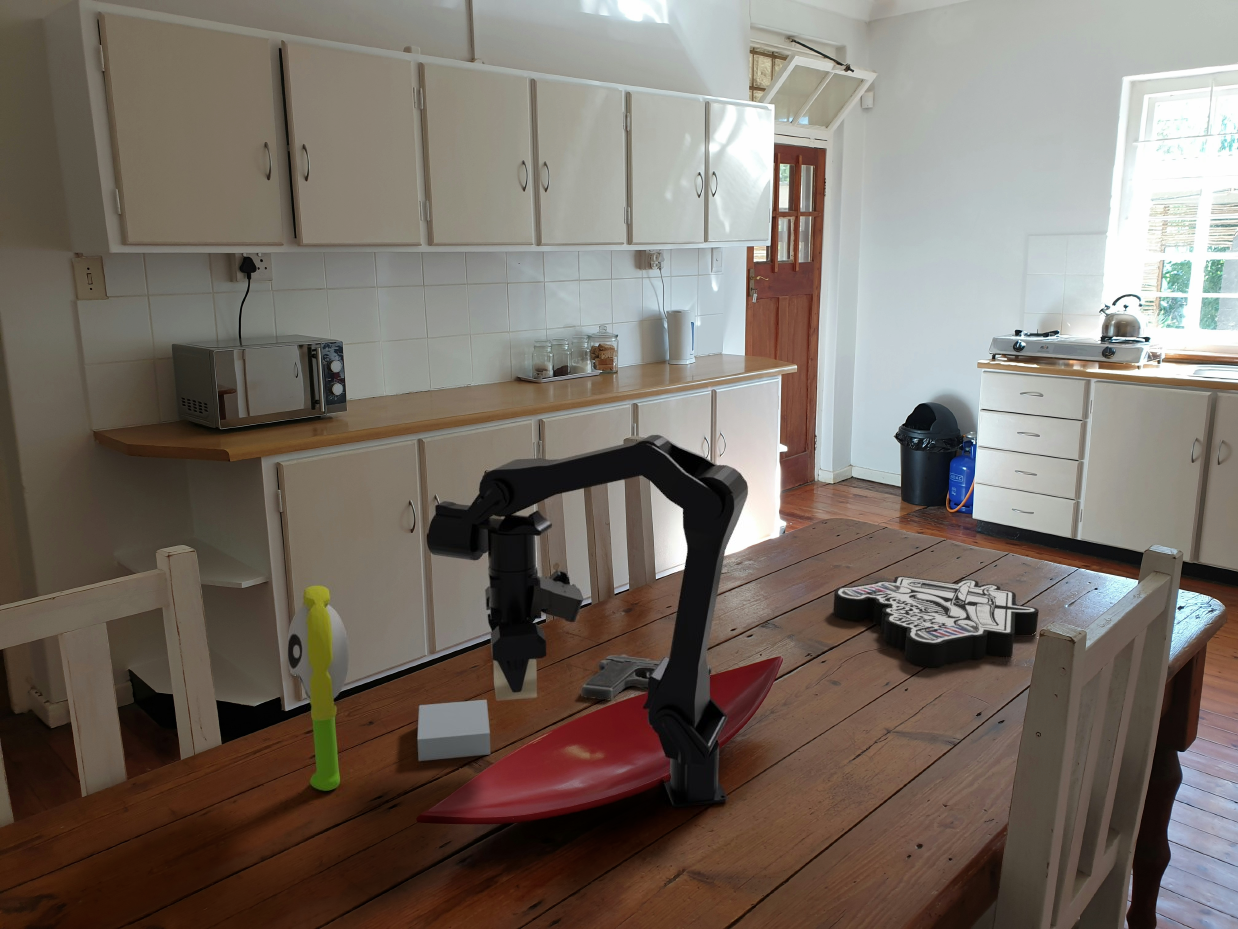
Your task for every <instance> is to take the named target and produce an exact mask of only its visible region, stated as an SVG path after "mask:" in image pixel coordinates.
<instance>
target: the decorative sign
mask: <svg viewBox="0 0 1238 929" xmlns="http://www.w3.org/2000/svg"><path fill="white" fill-rule="evenodd" d="M1016 599H1017V594H1016V593H1015V592H1014V591H1011V590H1006V589H1001V587H1000V586H999V585H996V584H992V583H987V584H982V585H979V581H978V580H975V579H960V580H958V581H957V582H955V583H954V582H949V581H948V582H947V581H942V580H941V581H940V580H934V579H926V578H918V577H917V578H916V577H911V576H904V575H903V576H902V575H901V576H896V577H894V579H893V581H889V580H888V581H887V580H880V581H875V582H871V583H865V584H859V585H853V586H852V585H851V586H840V587H837V588H836V589H834V594H833V609H832V614H833V617H835V618H836V619H838V620H841V621H845V622H852V623H861V622H862V623H863V622H866V621H872V622H873V623H874V625H876V626H878V627H880V634H881V635H882V636H883V639H882V640H883V644H884V645H886V646H887V647H890V648H893V649H896V650H899V651H901V652H904V660H905V662H907V664H910V665H911V666H914V667H919V668H923V669H929V670H936V669H942V668H943V667H945V666H948V665H953V664H954V665H955V664H958V663H959V664H960V663H964V662H969V661H980V660H983V659H985V657H986V656H990V657H994V656H995V657H996V658H1001V657H1002V658H1003V657H1004V658H1003V659H1007V658H1006V657H1010V658H1011V656H1013V650H1014V641H1015V636H1014V635H1032V634H1034V633H1035V632H1036V633H1037V629H1038V620H1039V611H1040V610H1039V609H1038V608H1037V607H1033V606H1028V605H1022V604H1021V605H1019V604H1016V602H1017V601H1016ZM1032 636H1033V635H1032Z"/></svg>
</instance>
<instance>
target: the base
mask: <svg viewBox="0 0 1238 929" xmlns="http://www.w3.org/2000/svg"><path fill="white" fill-rule="evenodd" d="M488 709H489V708H488V700H487V699H481V700H480V699H479V700H467V701H454V702H443V703H432V704H431V703H430V704H420V705H418V720H417V722H418V725H417V753H418V762H422V761H433V760H434V761H435V760H442V759H443V760H446V759H454V758H465V757H474V756H475V757H476V756H487V755H491V731H490V721H489V710H488Z"/></svg>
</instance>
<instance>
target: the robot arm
mask: <svg viewBox="0 0 1238 929" xmlns="http://www.w3.org/2000/svg"><path fill="white" fill-rule="evenodd" d="M637 477H643V478H645V479H646V480H648V481H649V482H651V483H652V484H653V485H654V487H655V488H657V489H658V490H659V492H661V494H662V495H663V496H665V497H666V499H667V500H668V501H670V502H672V503H673V504H675V505H676V506H678V507H680V508H681V509H682V530H683V532H684V534H683V535H684V537H685V542H686V557H685V562H684V569H683V575H682V580H681V586H680V592H679V598H678V603H677V610H676V615H675V616H676V618H675V621H674V627H673V635H672V640H671V646H670V653H669V657H666V656H664V657H663V658H662V659H661V660H660V661H659V662H660V663H659V664H658V666H657V667H656V668H655V670H654V671H653V672H652V674H651V675H650V676H649V680H648V687H647V698H646V701H645V703H644V705H643V706H642V709H643V710H647V723H648V725H649V726H650V727H651V728H652V729H653V730H654V732H655V733H656V735H657V736H658V738H659V741H660V744H661V748H662V750H663V754H664V757H666V759H670V764H669V765H670V766H669V767H670V768H669V773H670V775H671V779H670V781H668V782H666V783H663V785H664V787H665V790H666V792H667V795H668V797H669V799H670V801H671V804H672V806H673V807H674V808H683V807H693V806H694V807H695V806H700V805H701V806H702V805H703V806H704V805H710V804H720V803H725V802H727V801H728V796H727V793H725V790H724V788H723V786H722V785H721V782H720V781H719V763H720V762H719V760H720V759H719V758H720V756H719V754H720V742H719V741H718V737H719V736H720V735H721V734H720V733H721V732H723V730H724V728H725V724H726V722H727V720H728V718H729V717H728V715H727V713H725V712H724V710H723V708H721V707H720V706H719V705H718V704H717V701H715V700H714V699H713V698H712V697H711V696H710V695H711V694H710V693H711V690H710V689H711V684H710V683H711V682H710V681H711V680H710V677H711V676H709V671H708V667H707V665H708V663H707V653H708V649H709V648H708V646H709V642H710V637H711V632H712V626H713V621H714V614H715V608H716V604H717V599H718V593H719V586H720V581H721V575H722V570H723V564H724V558H725V553H726V550H727V549H726V548H727V546H728V544H729V542H730V539H731V537H732V535H733V533H734V531H735V528H736V526H737V525H738V522H739V520H740V517H741V514H742V512H743V510H744V506H745V504H746V501H747V498H748V495H749V486H748V482H747V480H746V479H745V478H744V477H743V474H742V473H741V472H739V471H738V470H737V469H736V468H735V467H733V466H729V465H728V464H727V465H725V464H717V463H715V462H714V461H712V460H710V459H709V458H707V457H705V456H704V455H701V454H699V453H697V452H693V451H691V450H689V449H687V448H685V447H682V446H679V445H677V443H674V442H673V441H671V440H670V439H668V438H667V437H665V436H663V435H660V434H651V435H648V436H647V437H644V438H643V439H638V440H635V441H630V442H626V443H623V444H618V445H614V446H609V447H605V448H602V449H601V448H600V449H596V450H593V451H589V452H585V453H581V454H576V455H572V456H571V455H570V456H568V457H563V458H560V459H558V458H557V459H554V458H553V459H550V458H549V459H547V458H541V457H540V458H539V457H538V458H519V459H514V460H511V461H509V462H507V463H504V464H502V465H500V466H498V467H496V468H493V469H491V470H489V471H486V472H485V473H484V474H483V475H482V478H481V480H480V482H479V485H478V486H479V487H478V494H477V496H476V497H475V498H474V500H473V501H472V502H471V504H461V503H456V502H453V501H447V500H443V501H442V502H439V503H438V504H436V505H435V506H434V510H435V514H434V515H433V517H432V518H431V520H430V522H429V527H428V530H427V531H428V532H427V533H426V545H427V547H428V551H429V553H431V554H432V555H434V556H439V557H447V558H454V559H462V560H468V561H479V560H480V559H481V558H482V557H483V556H484V554H486V553H488V566H487V572H488V573H487V575H488V581H489V586H487V587H486V588H485V590H484V593H485V594H484V595H485V596H484V598H485V610H486V611H489V613H487V622H488V626H489V628H490V630H491V632H490V648H491V658H492V661H493V660H494V661H497V662H498V664H499V666H500V668H501V670H502V672H503V674H504V676H505V678H506V680H507V682H508V684H509V686H510V688H511V690H512V692H514V693H515V692H521V691H522V687H523V682H524V678H525V674H526V670H527V666H528V662H529V659H536V660H537V659H543V658H545V657H546V656H547V639H546V635H545V632H544V629H543V628H542V627H540V626H539V625H538V624H537V623H536V622H535V621H536V620H538V619H542V613H543V614H545V615H548V616H552V617H554V618H555V617H557V618H559V619H563V620H564V621H565V622H568V623H575V622H576V621H577V617H578V615H579V612H580V610H581V606H582V605H583V601H584V596H583V594H582V592H581V590H580V588H578V586H577V585H576V584H575V583H572V584H571V581H570V576H569V574H568V571H565V570H562V569H559V568H557V569H556V570H555V571H554V572H553V573H552V574H550V575H549V576H545V577H540V576H539V575H538V574H539V573H538V568H537V556H536V552H537V551H536V549H537V547H536V537H539V536H541V535H543V534H544V533H545V532H547V531H549V530H550V529H552V527H553V524H552V522H551V521H550V520H548V519H547V518H546V517H544V516H543V515H542V513H541V512H540V510H534V511H533V512H532V513H530V514H529V515H522V514H517V513H520V511H521V512H522V511H523V510H525V509H528V508H530V507H532V506H534V505H536V504H538V503H541V502H543V501H544V500H547V499H549V498H551V497H554V496H557V495H559V494H560V495H562V494H566V493H569V492H574V491H579V490H584V489H587V488H593V487H597V486H600V485H605V484H609V483H614V482H619V481H623V480H629V479H633V478H637ZM494 516H495V517H497V518H495V517H494Z"/></svg>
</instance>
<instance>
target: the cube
mask: <svg viewBox="0 0 1238 929" xmlns="http://www.w3.org/2000/svg"><path fill="white" fill-rule="evenodd" d="M492 662H493V685H494V692H495V701H497V702H498V701H509V700H522V699H534V698H536V699H537V697H538V691H537V690H538V687H537V686H538V683H537V679H538V678H537V659H529V662H528V666H527V670H526V674H525V678H524V682H523V687H522V691H521V692H515V693H514V692H512V690H511V688H510V686H509V684H508V682H507V680H506V678H505V676H504V674H503V672H502V670H501V668H500V666H499V664H498V662H497V661H494V660H493V659H492Z"/></svg>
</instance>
